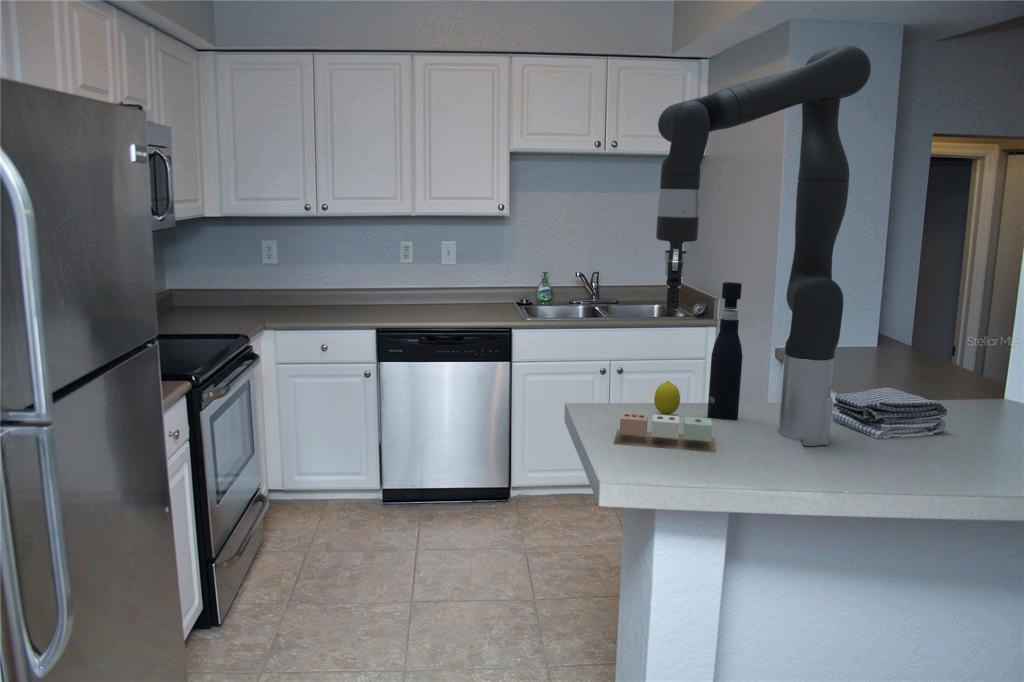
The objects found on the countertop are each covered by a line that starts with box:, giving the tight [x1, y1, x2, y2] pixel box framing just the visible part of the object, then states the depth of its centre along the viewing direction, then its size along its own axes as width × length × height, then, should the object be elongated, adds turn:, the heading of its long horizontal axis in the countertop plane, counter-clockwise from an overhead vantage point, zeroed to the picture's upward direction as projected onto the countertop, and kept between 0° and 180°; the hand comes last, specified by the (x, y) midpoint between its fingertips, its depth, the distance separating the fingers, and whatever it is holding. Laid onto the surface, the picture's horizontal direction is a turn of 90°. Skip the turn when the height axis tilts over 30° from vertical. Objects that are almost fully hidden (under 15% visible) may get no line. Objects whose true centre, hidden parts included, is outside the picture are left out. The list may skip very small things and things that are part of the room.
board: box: [612, 428, 717, 453], centre depth 155 cm, size 19×10×1 cm, turn 78°
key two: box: [651, 413, 680, 439], centre depth 153 cm, size 5×5×3 cm
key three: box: [619, 411, 649, 436], centre depth 154 cm, size 5×5×3 cm
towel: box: [831, 387, 948, 439], centre depth 171 cm, size 15×18×8 cm
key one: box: [683, 416, 713, 441], centre depth 152 cm, size 5×5×3 cm
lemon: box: [653, 380, 681, 416], centre depth 175 cm, size 6×6×8 cm
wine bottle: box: [706, 281, 743, 421], centre depth 171 cm, size 6×6×30 cm
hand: (672, 308), depth 150 cm, fingers closed
